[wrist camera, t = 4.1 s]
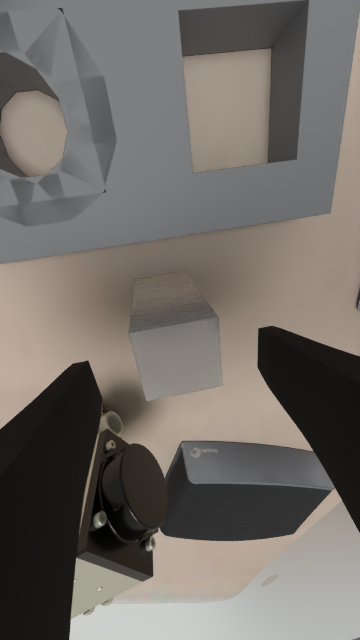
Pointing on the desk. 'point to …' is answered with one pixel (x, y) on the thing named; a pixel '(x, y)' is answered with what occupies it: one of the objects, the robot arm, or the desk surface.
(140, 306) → the square peg
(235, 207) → the socket plate
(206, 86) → the desk surface
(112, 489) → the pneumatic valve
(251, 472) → the external hard drive
